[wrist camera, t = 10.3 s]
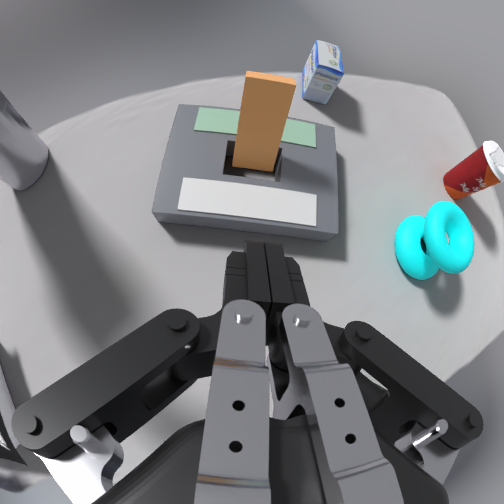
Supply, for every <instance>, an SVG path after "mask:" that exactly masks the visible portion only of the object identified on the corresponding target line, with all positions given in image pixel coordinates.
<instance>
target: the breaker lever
mask: <svg viewBox="0 0 504 504" xmlns="http://www.w3.org/2000/svg"><path fill="white" fill-rule="evenodd" d="M295 87H296V83H295V80H294V79H292V78H288V77H282V76H277V75H271V74H265V73H259V72H252V71H247V73H246V78H245V84H244V90H243V96H242V103H241V109H240V115H239V122H238V128H237V135H236V142H235V149H234V156H233V163H232V166H233V167H241V168H249V169H256V170H263V171H270V172H272V171H273V168H274V164H275V160H276V157H277V153H278V149H279V146H280V142H281V138H282V135H283V131H284V127H285V124H286V120H287V117H288V113H289V109H290V106H291V102H292V98H293V95H294V91H295Z"/></svg>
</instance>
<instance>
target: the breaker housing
mask: <svg viewBox="0 0 504 504" xmlns="http://www.w3.org/2000/svg"><path fill="white" fill-rule="evenodd" d="M239 115H240V109H232V108H223V107H212V106H200V105H183V104H179V106H178V109H177V112H176V115H175V119H174V122H173V125H172V129H171V132H170V136H169V140H168V143H167V147H166V151H165V155H164V159H163V163H162V167H161V171H160V175H159V179H158V184H157V188H156V193H155V198H154V202H153V207H152V213H153V214H154V216H155V218H156V219H157V221H158V222H165V223H175V224H185V225H194V226H204V227H213V228H222V229H231V230H239V231H248V232H256V233H265V234H273V235H281V236H289V237H297V238H305V239H313V240H320V241H327V240H329V239H331V238H332V237H334V236H336V235H337V234H338V178H337V158H336V143H335V130H334V127H331V126H327V125H323V124H318V123H314V122H310V121H305V120H300V119H295V118H290V117H287V120H286V124H285V127H284V131H283V135H282V138H281V142H280V146H279V149H278V153H277V157H276V160H275V163H276V170H275V181H270V180H263V179H256V178H248V177H240V176H232V175H224V174H223V173H224V167H225V160H226V156H232V157H233V156H234V149H235V142H236V135H237V128H238V122H239Z"/></svg>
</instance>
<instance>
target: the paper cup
mask: <svg viewBox="0 0 504 504" xmlns="http://www.w3.org/2000/svg"><path fill="white" fill-rule="evenodd" d="M443 181H444V186H445V189H446V191H447V192H448V194H449V195H450V196H451V197H452V198H453V199H460V198H463V197H465V196H468V195H470V194H473V193H475V192H478V191H480V190H483V189H485V188H487V187H490V186H492V185H495V184H497V183H499V182H504V153H503V151H502V150H501V148H500V147H499V145H498V144H496V142H494V141H485V142H484V143H483V145H482V146H481V147H480V148H479V149H477V150H476V151H475V152H473V153H472V154H471V155H470V156H468V157H467V158H466V159H464V160H463V161H462V162H460V163H459V164H458V165H456V166H455V167H454V168H453V169H451V170H450V171H449V172H447V173H446V174H445V175H444V178H443Z"/></svg>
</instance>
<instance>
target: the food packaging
mask: <svg viewBox="0 0 504 504" xmlns="http://www.w3.org/2000/svg"><path fill="white" fill-rule="evenodd" d="M15 410H16V409H15V407H14V404H13V402H12V399H11V396H10V393H9V390H8V388H7V385H6V381H5V378H4V375H3V372H2V368H1V365H0V458H3V459H8V460H12V461H16V462H19V463H22V464H25V465H27V464H26V463H25V462H24V461H23V459H22V458H21V457H20V455H19V454H18V452H17V450H16V448H17V446H18V445H19V444H20V443H19V442H18V441H17V439H16V438H15V436H14V434H13V431H12V426H11V421H12V416H13V413H14V411H15ZM27 466H28V465H27Z"/></svg>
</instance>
